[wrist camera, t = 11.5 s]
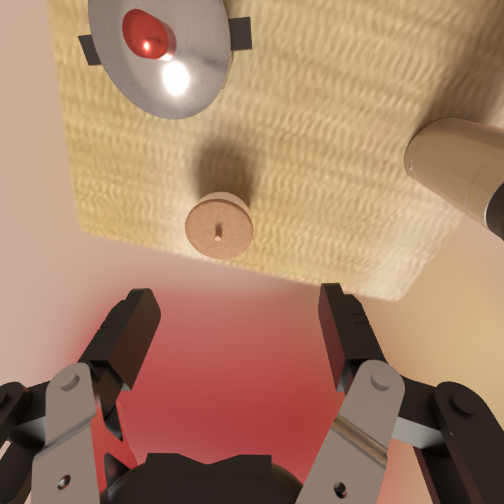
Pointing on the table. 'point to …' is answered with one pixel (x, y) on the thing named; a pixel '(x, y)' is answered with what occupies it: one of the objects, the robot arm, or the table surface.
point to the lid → (163, 52)
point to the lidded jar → (220, 226)
